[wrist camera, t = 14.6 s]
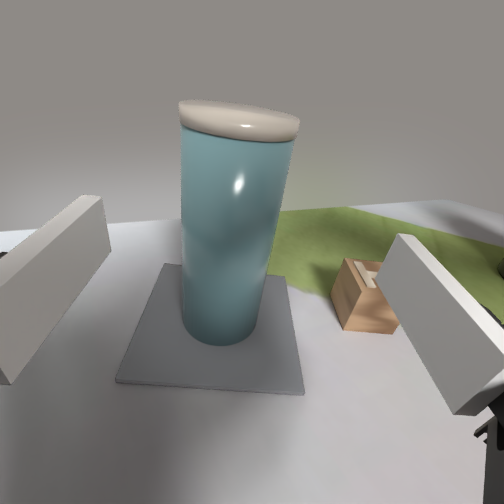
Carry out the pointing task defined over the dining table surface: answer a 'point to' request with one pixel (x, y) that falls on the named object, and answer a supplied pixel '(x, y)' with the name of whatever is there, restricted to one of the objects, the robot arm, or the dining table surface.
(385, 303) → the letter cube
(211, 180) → the jar
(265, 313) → the mat
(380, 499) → the dining table surface
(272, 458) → the dining table surface
